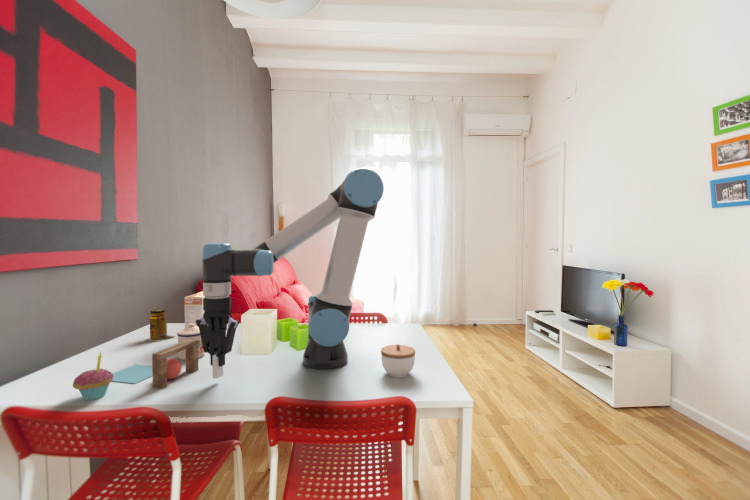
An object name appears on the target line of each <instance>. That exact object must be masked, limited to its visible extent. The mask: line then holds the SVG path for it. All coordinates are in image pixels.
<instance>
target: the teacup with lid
mask: <svg viewBox="0 0 750 500" xmlns="http://www.w3.org/2000/svg"><path fill="white" fill-rule="evenodd" d="M176 335H177V344H179V343H182V342H184V341H187V340H190V339H191V340H198V359H200V358H203V357H204V356H206V353H205V352H204V349H203V345H202V340H201V335H200V331H199V327H198V326H195V324H194V323H191V324H189V325H188V327H186V328H185V327H184V328H183V329H180V330H178V332H177V334H176ZM177 357H178V359H179V360H182V361H186V350H185V349H184V350H182V351H179V352H177Z"/></svg>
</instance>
